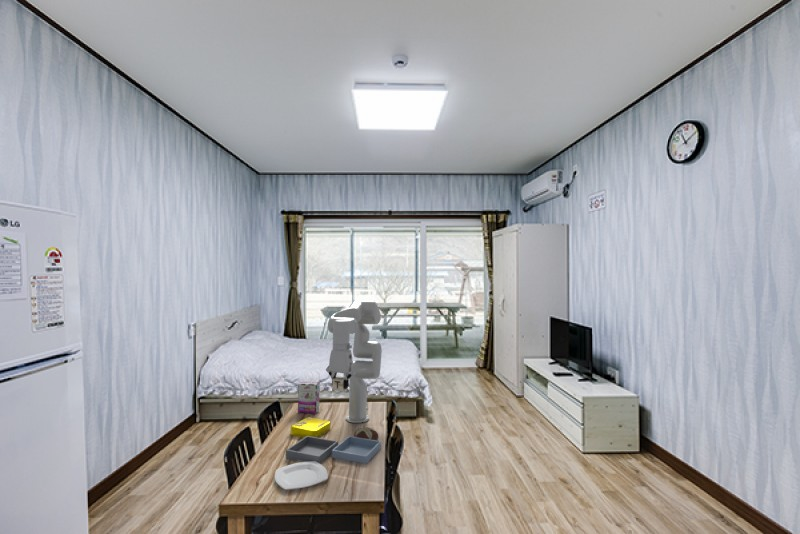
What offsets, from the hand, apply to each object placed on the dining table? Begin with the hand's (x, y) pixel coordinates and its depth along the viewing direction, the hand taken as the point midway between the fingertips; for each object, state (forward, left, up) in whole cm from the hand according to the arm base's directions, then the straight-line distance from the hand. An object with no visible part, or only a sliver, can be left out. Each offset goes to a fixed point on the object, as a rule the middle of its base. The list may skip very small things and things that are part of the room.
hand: (340, 387), depth 174 cm
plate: (+28, -1, -28) cm, 40 cm away
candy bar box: (-36, -39, -28) cm, 60 cm away
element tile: (-12, -22, -28) cm, 38 cm away
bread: (-14, +7, -28) cm, 32 cm away
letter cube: (0, 0, -1) cm, 1 cm away
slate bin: (+2, +10, -27) cm, 29 cm away
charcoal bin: (+9, -8, -27) cm, 30 cm away
